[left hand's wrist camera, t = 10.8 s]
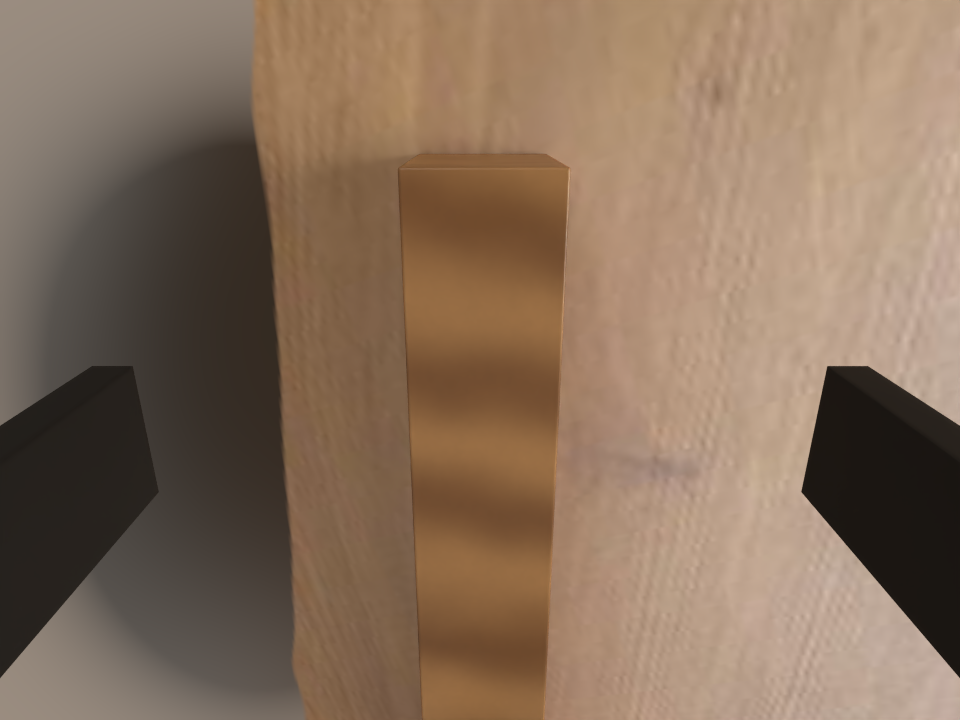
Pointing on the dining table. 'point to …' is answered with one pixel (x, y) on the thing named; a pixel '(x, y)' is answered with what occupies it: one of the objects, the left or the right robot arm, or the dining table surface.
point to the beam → (483, 421)
